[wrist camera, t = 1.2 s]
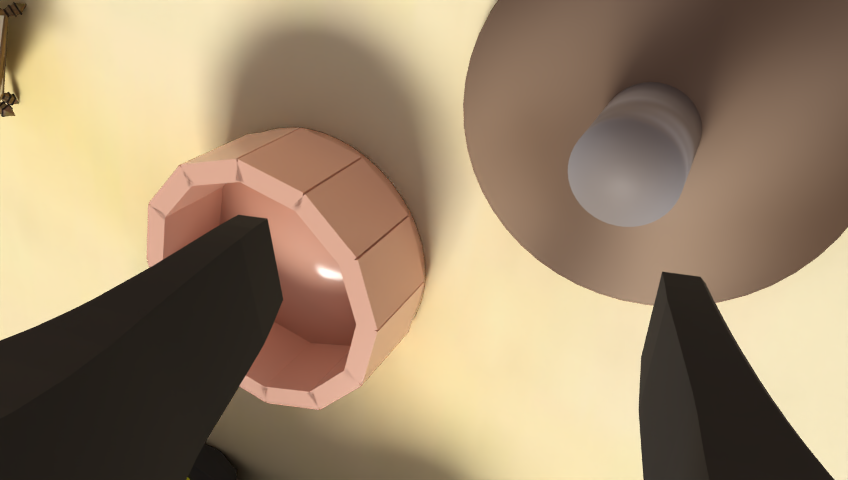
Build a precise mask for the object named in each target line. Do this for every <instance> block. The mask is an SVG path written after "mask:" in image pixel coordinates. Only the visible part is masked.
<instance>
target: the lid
mask: <svg viewBox="0 0 848 480" xmlns="http://www.w3.org/2000/svg"><path fill="white" fill-rule="evenodd" d="M463 108H464V129H465V136H466V142H467V149H468V152H469V156H470V160H471V163H472V167H473V170H474V173H475V175H476V178H477V180H478V182H479V185H480V187H481V190H482V192H483V194H484V195H485V197H486V199H487V201H488V203H489V204H490V206H491V208H492V210H493V211H494V213H495V214H496V215H497V217H498V218H499V220H500V221H501V222H502V224H503V225H504V226H505V228H506V229H507V230H508V231H509V232H510V234H511V235H512V236H513V237H514V238H515V239H516V240H517V241H518V242H519V243H520V245H521V246H523V247H524V248H525V249H526V250H527V251H528V252H529V253H531V254H532V255H533V256H534V257H535V258H536V259H537V260H539V261H540V262H542V263H543V264H544V265H546V266H547V267H549V268H550V269H552V270H553V271H554V272H556V273H557V274H559V275H561V276H563V277H565V278H566V279H568V280H570V281H572V282H574V283H576V284H577V285H580V286H582V287H585V288H587V289H589V290H592V291H594V292H597V293H599V294H603V295H606V296H609V297H613V298H616V299H619V300H623V301H629V302H634V303H640V304H645V305H654V303H655V299H656V295H657V291H658V287H659V282H660V278H661V274H662V272H669V273H677V274H684V275H692V276H699V277H701V278H702V279H703V281H704V282H705V283H706V285H707V287H708V289H709V291H710V293H711V295H712V298H713V300H714V302H715V303H717V302H722V301H726V300H730V299H734V298H738V297H742V296H745V295H748V294H751V293H753V292H756V291H759V290H761V289H764V288H766V287H769V286H771V285H773V284H775V283H777V282H779V281H781V280H783V279H784V278H786V277H788V276H790V275H792V274H794V273H796V272H797V271H798V270H800V269H801V268H803V267H804V266H806V265H807V264H808V263H810V262H811V261H813V260H814V259H816V258H817V257H818V256H819V255H820V254H822V253H823V252H824V251H825V250H826V249H827V248H828V247H829V246H830V245H831V244H832V243H834V242H835V241H836V240H837V239H838V238H839V237H840V236H841V234H842V233H843V232H844V231H845V230H846V228H847V227H848V0H498V2H497V3H496V4H495V6H494V7H493V9H492V10H491V12H490V14H489V16H488V18H487V20H486V22H485V23H484V25H483V27H482V29H481V31H480V33H479V36H478V38H477V41H476V44H475V47H474V50H473V52H472V55H471V58H470V63H469V67H468V72H467V76H466V81H465V92H464V103H463Z"/></svg>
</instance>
